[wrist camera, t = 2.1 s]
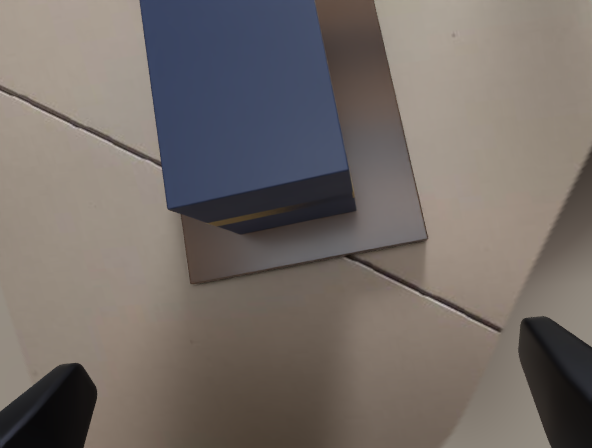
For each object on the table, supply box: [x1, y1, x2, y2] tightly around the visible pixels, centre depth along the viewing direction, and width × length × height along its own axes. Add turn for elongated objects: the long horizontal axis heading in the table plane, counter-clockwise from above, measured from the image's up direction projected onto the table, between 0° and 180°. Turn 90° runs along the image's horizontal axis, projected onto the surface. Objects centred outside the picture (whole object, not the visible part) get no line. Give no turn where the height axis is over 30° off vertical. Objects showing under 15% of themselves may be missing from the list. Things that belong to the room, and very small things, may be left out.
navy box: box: [140, 0, 357, 234], centre depth 18 cm, size 10×6×8 cm, turn 10°
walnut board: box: [181, 0, 428, 284], centre depth 23 cm, size 22×12×1 cm, turn 10°
